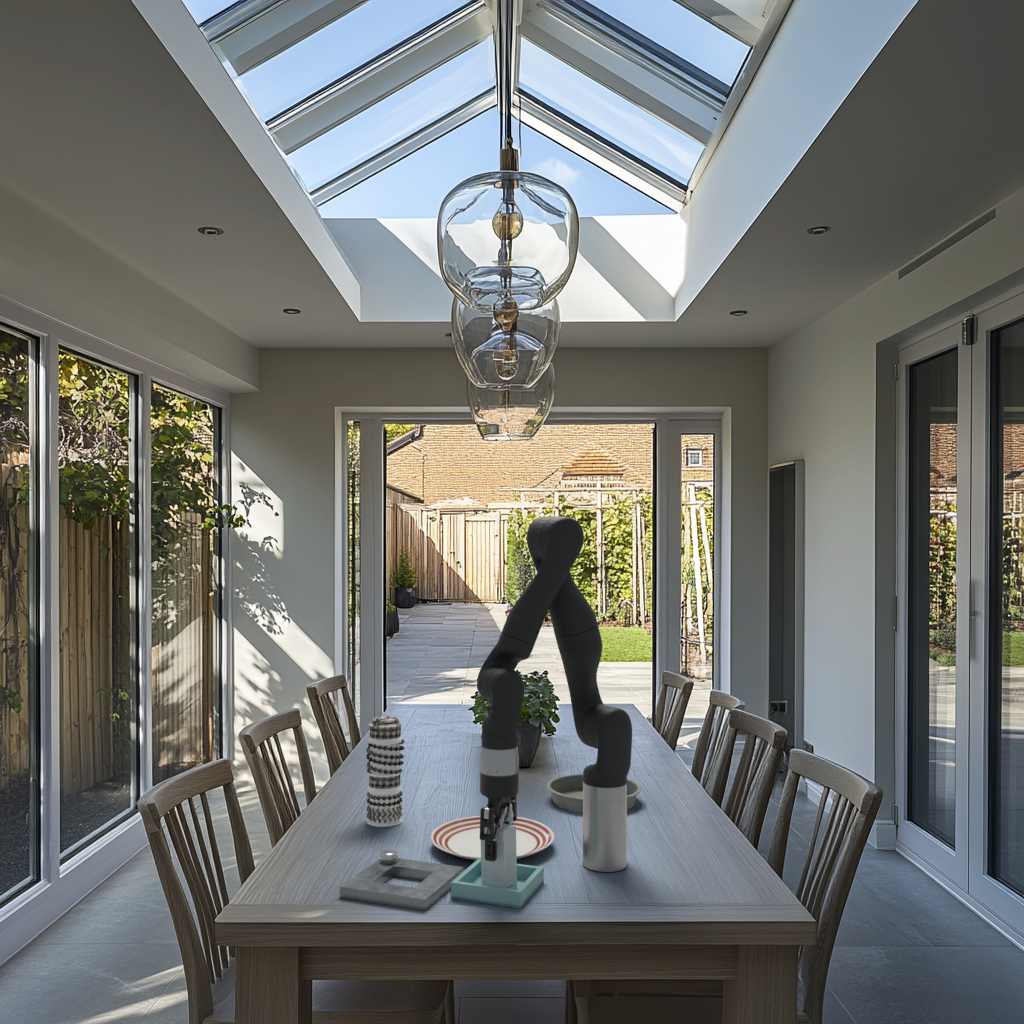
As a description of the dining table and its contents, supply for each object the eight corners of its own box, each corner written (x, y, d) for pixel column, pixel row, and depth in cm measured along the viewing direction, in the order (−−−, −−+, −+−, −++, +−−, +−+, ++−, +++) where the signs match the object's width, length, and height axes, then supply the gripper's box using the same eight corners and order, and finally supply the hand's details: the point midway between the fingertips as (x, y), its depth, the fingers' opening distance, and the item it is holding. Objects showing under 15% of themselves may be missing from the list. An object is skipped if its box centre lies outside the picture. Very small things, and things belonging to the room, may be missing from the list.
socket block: (383, 865, 190) (384, 848, 190) (463, 877, 184) (463, 859, 184) (339, 897, 173) (339, 878, 173) (425, 910, 167) (425, 890, 167)
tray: (478, 873, 186) (478, 858, 186) (543, 882, 181) (543, 867, 182) (450, 898, 173) (451, 882, 173) (520, 908, 168) (520, 892, 168)
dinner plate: (543, 875, 186) (543, 859, 186) (414, 864, 192) (414, 848, 192) (562, 833, 213) (562, 819, 213) (449, 825, 218) (449, 811, 218)
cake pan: (536, 811, 230) (536, 793, 231) (559, 786, 254) (559, 770, 254) (632, 820, 223) (632, 802, 223) (647, 794, 247) (647, 777, 247)
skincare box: (518, 888, 177) (518, 825, 178) (503, 895, 174) (504, 830, 174) (493, 880, 181) (493, 819, 181) (478, 887, 177) (479, 824, 178)
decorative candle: (408, 824, 218) (409, 719, 218) (369, 829, 214) (371, 722, 215) (398, 814, 226) (399, 712, 227) (361, 818, 223) (362, 715, 224)
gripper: (504, 780, 170) (504, 868, 169) (529, 763, 183) (528, 844, 183) (467, 776, 173) (466, 863, 172) (494, 759, 186) (493, 840, 185)
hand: (498, 853), depth 177 cm, fingers open, 8 cm apart
